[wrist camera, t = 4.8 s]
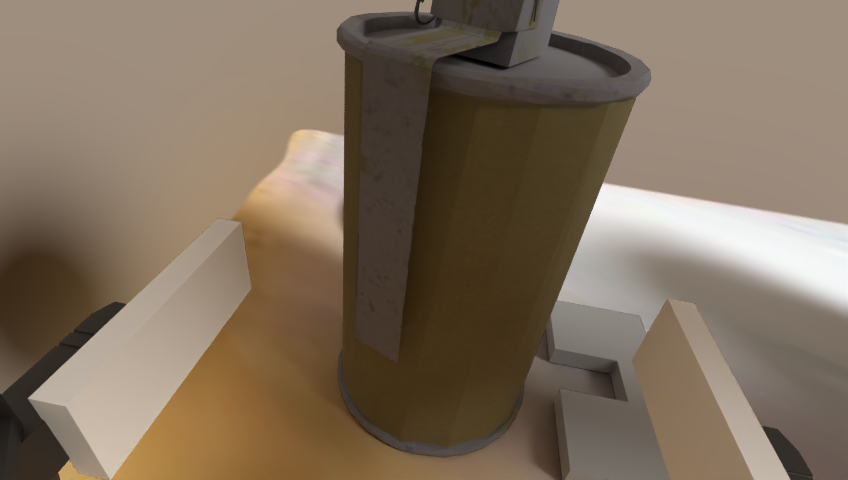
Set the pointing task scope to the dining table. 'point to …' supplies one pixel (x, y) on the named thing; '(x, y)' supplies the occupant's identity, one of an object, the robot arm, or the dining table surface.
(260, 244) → the dining table surface
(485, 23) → the canister
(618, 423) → the notched board
